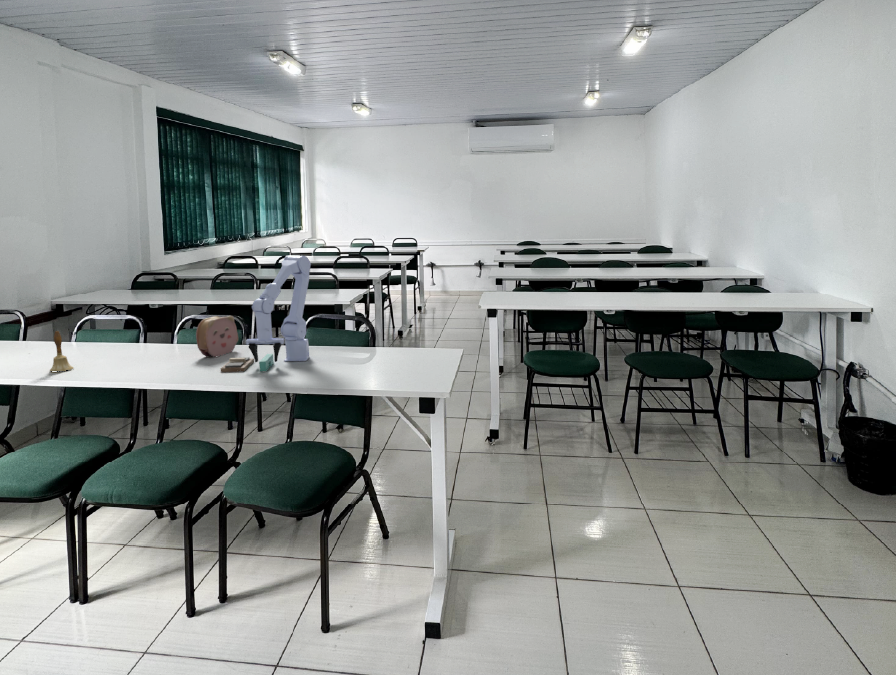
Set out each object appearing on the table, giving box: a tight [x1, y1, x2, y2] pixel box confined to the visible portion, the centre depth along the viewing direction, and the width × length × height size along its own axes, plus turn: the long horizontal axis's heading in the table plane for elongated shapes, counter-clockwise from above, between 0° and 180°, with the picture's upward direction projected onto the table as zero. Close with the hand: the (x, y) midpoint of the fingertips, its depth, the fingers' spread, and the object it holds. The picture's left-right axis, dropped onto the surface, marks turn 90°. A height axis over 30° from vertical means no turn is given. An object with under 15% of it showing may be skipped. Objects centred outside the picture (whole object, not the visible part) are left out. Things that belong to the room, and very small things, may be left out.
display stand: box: [220, 356, 255, 373], centre depth 242 cm, size 16×9×4 cm, turn 4°
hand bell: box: [49, 330, 74, 372], centre depth 238 cm, size 8×8×16 cm
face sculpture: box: [195, 315, 239, 358], centre depth 264 cm, size 20×7×17 cm, turn 161°
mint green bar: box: [258, 353, 275, 372], centre depth 240 cm, size 14×2×4 cm, turn 4°
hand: (266, 361), depth 240 cm, fingers open, 7 cm apart
